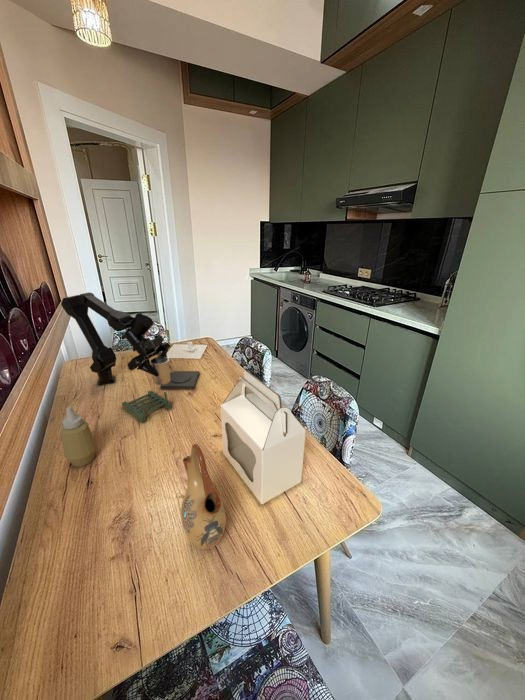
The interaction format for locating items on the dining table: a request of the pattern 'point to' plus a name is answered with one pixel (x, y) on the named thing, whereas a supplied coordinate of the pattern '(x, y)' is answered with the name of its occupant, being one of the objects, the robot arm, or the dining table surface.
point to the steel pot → (161, 370)
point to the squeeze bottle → (77, 439)
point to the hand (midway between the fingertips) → (164, 372)
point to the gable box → (262, 438)
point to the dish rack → (150, 395)
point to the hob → (182, 380)
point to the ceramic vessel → (201, 504)
